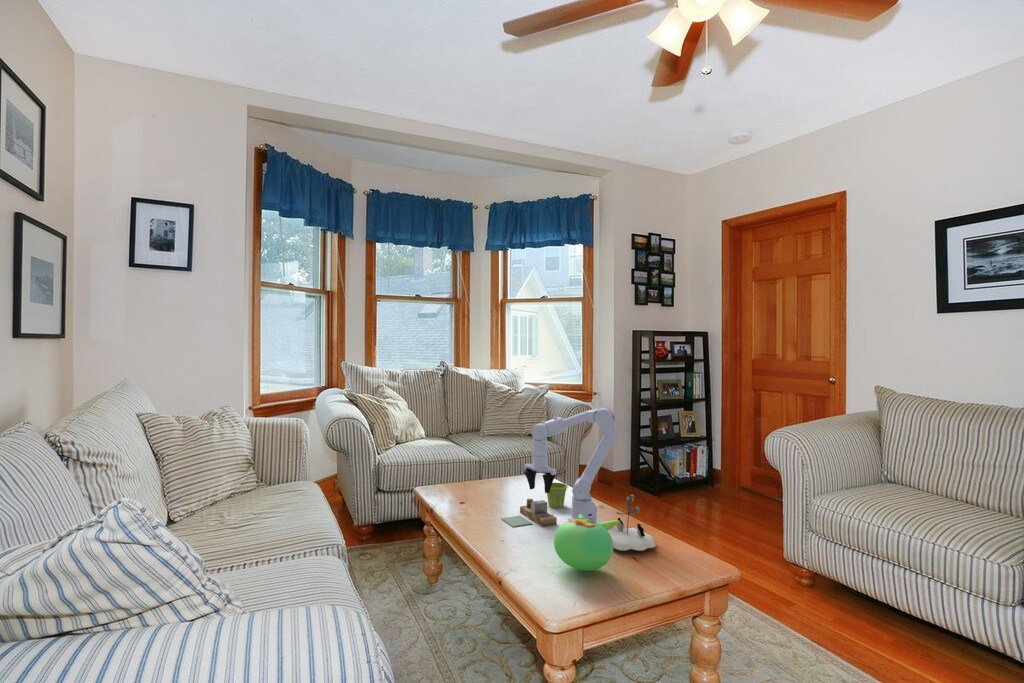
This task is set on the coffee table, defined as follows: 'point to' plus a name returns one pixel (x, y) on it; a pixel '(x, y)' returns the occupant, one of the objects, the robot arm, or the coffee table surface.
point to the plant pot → (557, 495)
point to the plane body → (538, 515)
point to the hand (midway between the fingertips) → (539, 490)
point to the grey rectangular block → (538, 507)
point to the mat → (516, 521)
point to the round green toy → (584, 543)
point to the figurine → (630, 534)
